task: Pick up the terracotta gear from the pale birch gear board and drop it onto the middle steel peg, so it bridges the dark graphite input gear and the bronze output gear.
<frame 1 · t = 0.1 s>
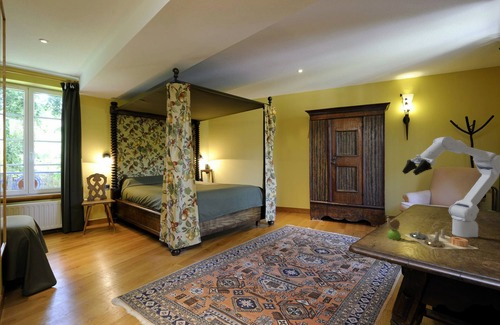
hand: (409, 173, 117), 32 cm above the table, tool tilted 50°, fingers open, 7 cm apart
idler gear: (458, 244, 106), point 1 cm above the table, touching gear board
output gear: (434, 244, 105), resting on gear board
snail figurine: (392, 241, 113), on the table
input gear: (418, 237, 115), resting on gear board
gear board: (438, 243, 110), on the table
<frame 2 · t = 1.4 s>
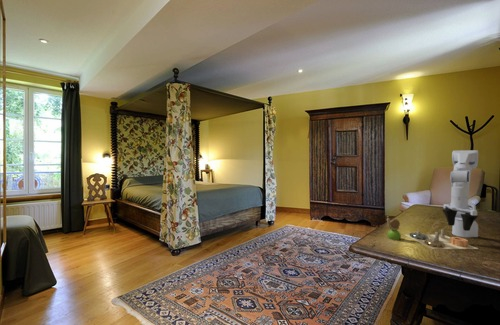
hand: (458, 227, 106), 9 cm above the table, tool pointing down, fingers open, 7 cm apart
nothing on the table moved.
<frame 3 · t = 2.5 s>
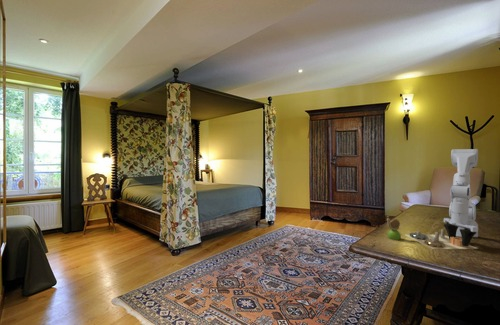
hand: (458, 242, 106), 2 cm above the table, tool pointing down, fingers closed on idler gear, 6 cm apart
idler gear: (458, 244, 106), point 1 cm above the table, touching gear board, gripper
everything else where it was.
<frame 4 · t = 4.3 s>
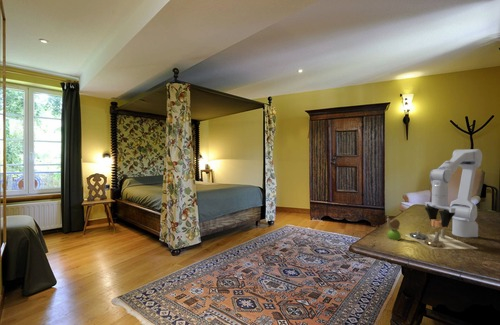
hand: (438, 224, 109), 9 cm above the table, tool pointing down, fingers closed on idler gear, 6 cm apart
idler gear: (438, 226, 109), point 8 cm above the table, touching gripper
everything else where it was.
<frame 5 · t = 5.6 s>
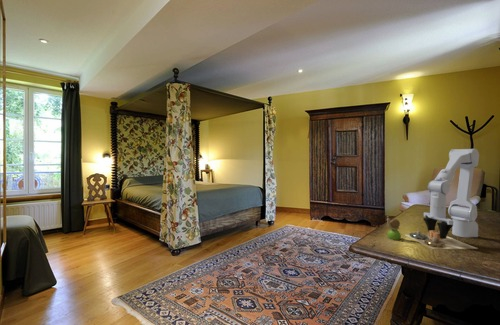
hand: (437, 235, 110), 4 cm above the table, tool pointing down, fingers closed on idler gear, 6 cm apart
idler gear: (437, 237, 110), point 3 cm above the table, touching gripper
everything else where it was.
when the fingers open (3 cm above the table, at t = 6.3 s): idler gear drops 1 cm, resting on gear board.
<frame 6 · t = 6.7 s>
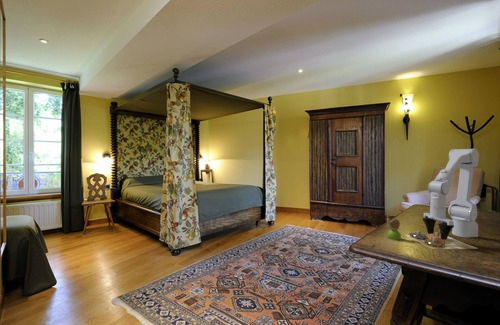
hand: (437, 236, 110), 3 cm above the table, tool pointing down, fingers open, 7 cm apart
idler gear: (436, 240, 110), point 1 cm above the table, touching gear board
everything else where it was.
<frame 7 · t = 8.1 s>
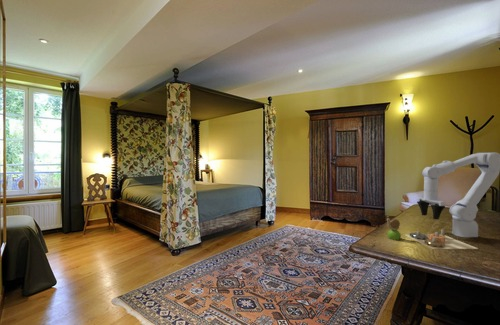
hand: (430, 217, 121), 9 cm above the table, tool pointing down, fingers open, 7 cm apart
nothing on the table moved.
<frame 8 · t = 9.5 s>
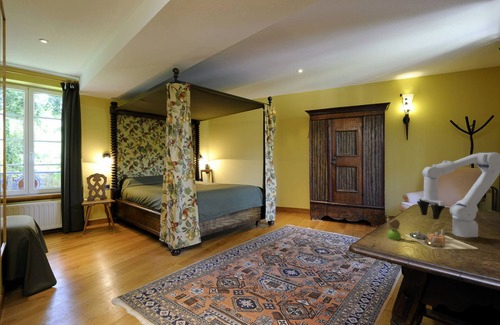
hand: (429, 217, 121), 9 cm above the table, tool pointing down, fingers open, 7 cm apart
nothing on the table moved.
at the end: idler gear 0.0 cm off-centre on the gear board, point 1.2 cm above the gear board's base; idler gear tilted 0°; the gripper is holding nothing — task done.
